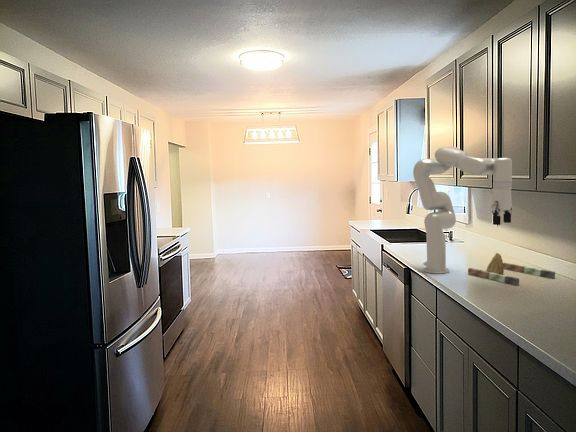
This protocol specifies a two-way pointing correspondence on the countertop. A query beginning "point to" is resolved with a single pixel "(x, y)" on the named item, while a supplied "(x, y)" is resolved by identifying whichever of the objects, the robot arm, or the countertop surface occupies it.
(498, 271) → the rock
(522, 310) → the countertop surface
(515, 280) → the channel
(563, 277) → the countertop surface
